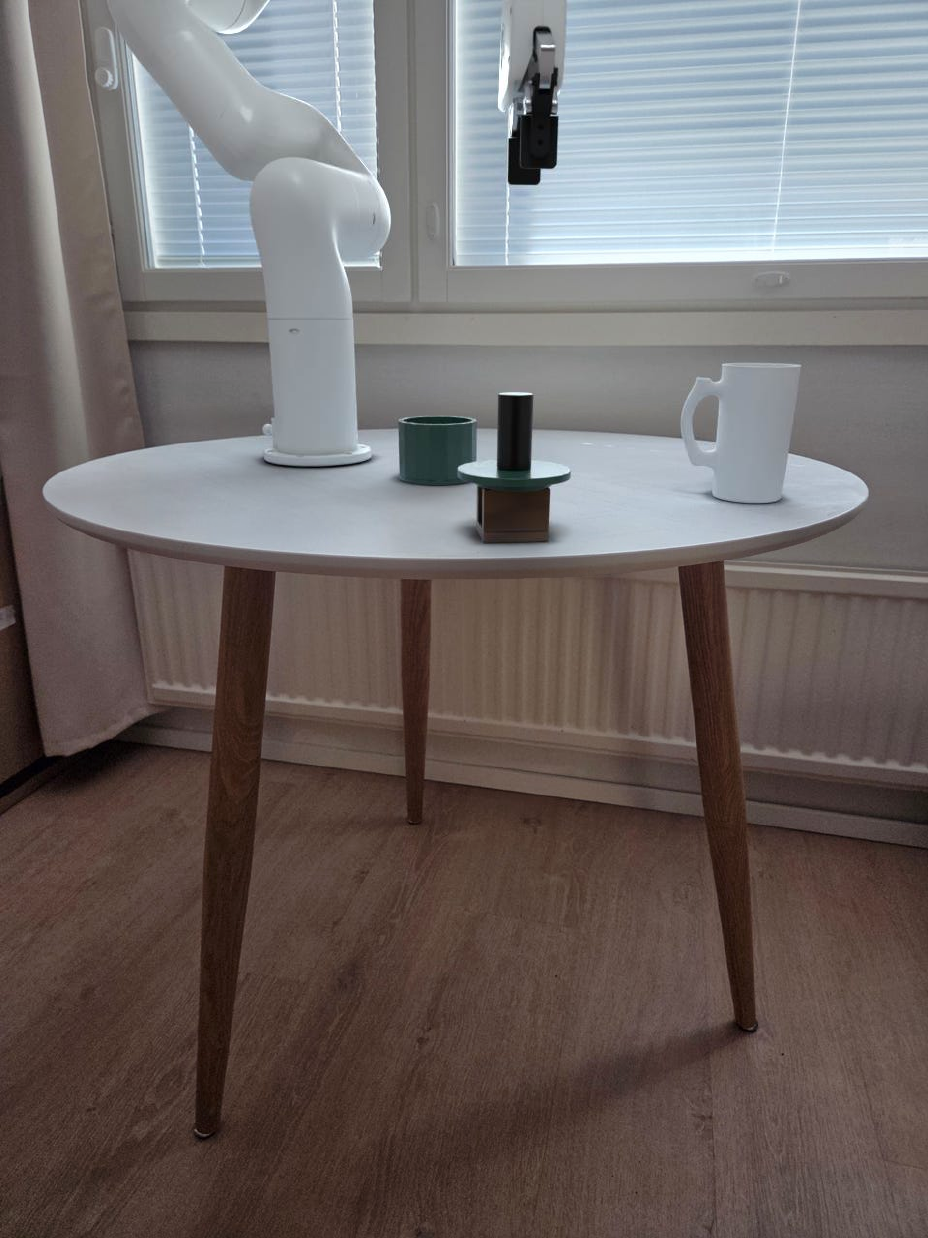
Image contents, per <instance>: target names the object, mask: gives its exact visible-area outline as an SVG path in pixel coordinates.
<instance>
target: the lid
mask: <svg viewBox="0 0 928 1238" xmlns="http://www.w3.org/2000/svg"><path fill="white" fill-rule="evenodd" d="M533 414H534V394H533V393H532V392H524V391H523V392H520V391H509V392H507V391H506V392H500V393H497V427H496V428H497V431H496V434H497V435H496V436H497V437H496V459H485V460H476V462H471V463H466V464H463V465H461V466H459V467H458V468H457V476H458V478H459V479H461V480H463V481H466V482H468V483H471V484H475V486H476V487H477V486H479V487H481V488H485V489H490V490H497V491H516V492H518V491H535V490H542V489H546V488H551V486H554V485H558V484H562V483H563V484H564V483H566V482H568V481H569V480H570V479H571V477H572V470H571V468H570V467H569V466H567V465H564V464H561V463H556V462H552V461H551V462H550V461H544V460H535V459H534V460H533V459H532V455H533V454H532V453H533V452H532V451H533V421H534V419H533V418H534V415H533Z"/></svg>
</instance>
